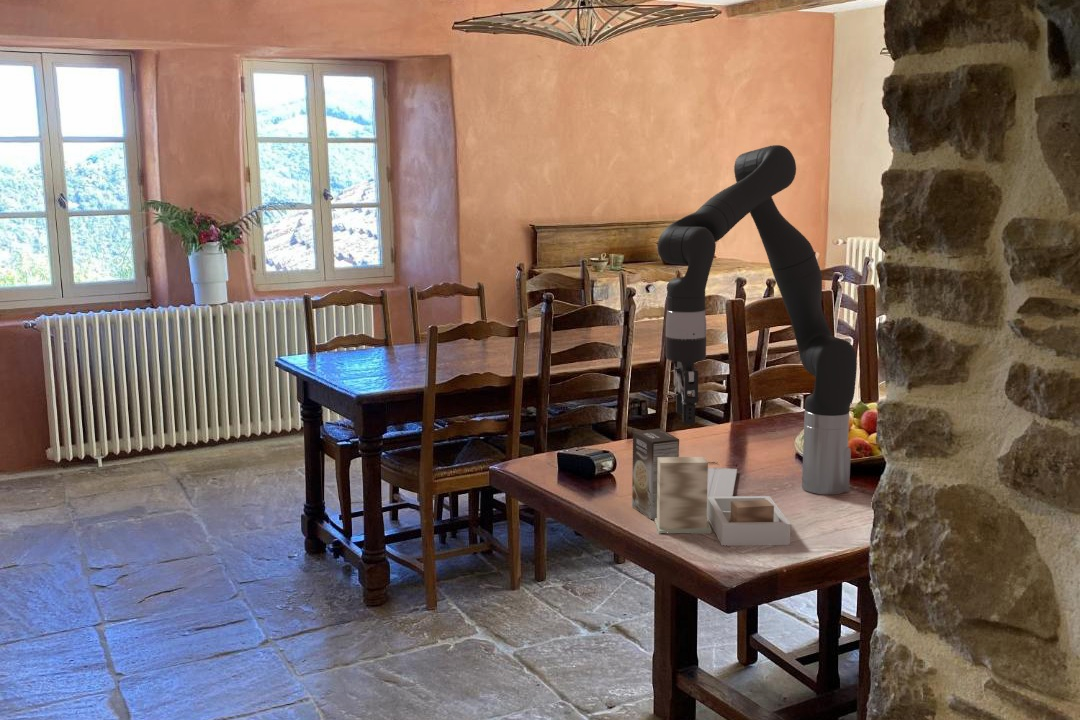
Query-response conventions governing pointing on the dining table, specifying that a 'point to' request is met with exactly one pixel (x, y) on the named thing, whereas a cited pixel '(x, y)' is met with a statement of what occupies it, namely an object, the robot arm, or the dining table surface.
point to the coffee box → (649, 467)
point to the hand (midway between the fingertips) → (685, 418)
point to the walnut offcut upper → (752, 511)
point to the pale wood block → (682, 492)
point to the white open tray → (746, 524)
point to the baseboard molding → (721, 481)
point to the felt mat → (685, 530)
